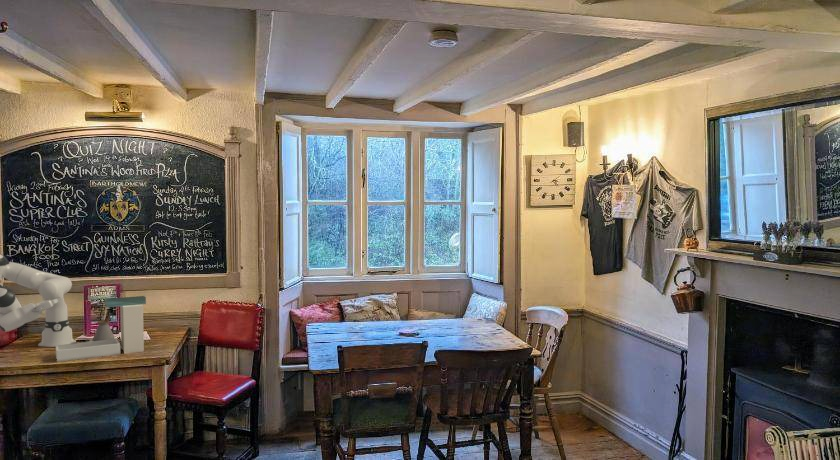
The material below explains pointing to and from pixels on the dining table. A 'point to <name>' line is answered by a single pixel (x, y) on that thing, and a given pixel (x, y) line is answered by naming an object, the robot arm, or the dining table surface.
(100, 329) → the coffee pot
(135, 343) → the tall white pillar
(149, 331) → the dining table surface
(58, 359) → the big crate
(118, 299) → the teal rectangular bar
